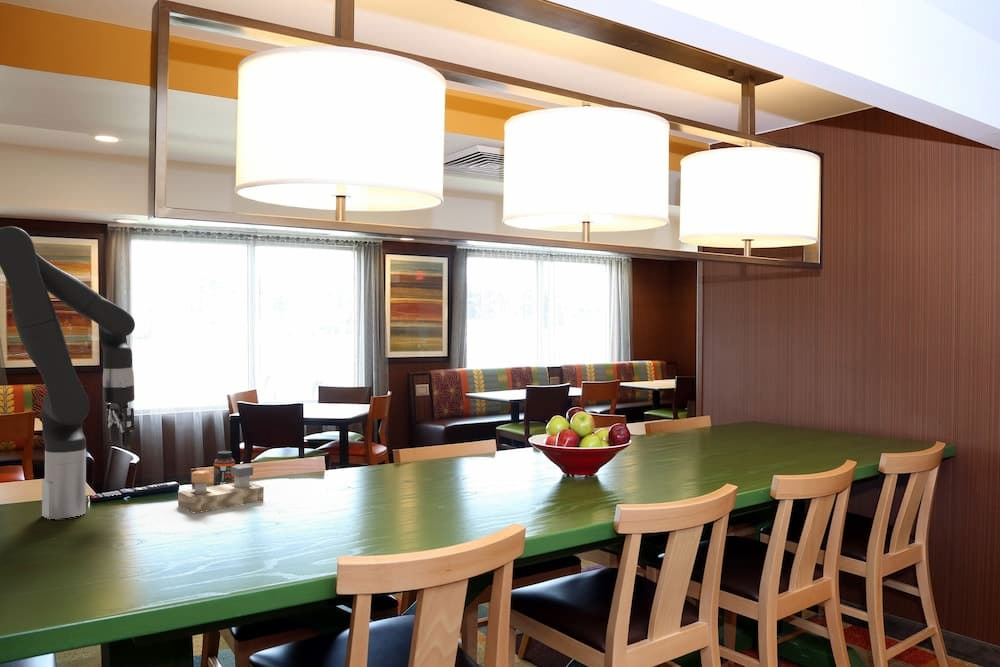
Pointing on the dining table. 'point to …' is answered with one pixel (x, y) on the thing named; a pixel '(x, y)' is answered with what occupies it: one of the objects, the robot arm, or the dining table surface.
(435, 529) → the dining table surface
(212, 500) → the mount
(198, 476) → the round knob
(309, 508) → the dining table surface
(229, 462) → the supplement bottle
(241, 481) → the square knob
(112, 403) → the robot arm
